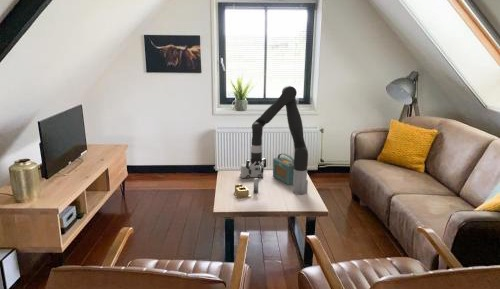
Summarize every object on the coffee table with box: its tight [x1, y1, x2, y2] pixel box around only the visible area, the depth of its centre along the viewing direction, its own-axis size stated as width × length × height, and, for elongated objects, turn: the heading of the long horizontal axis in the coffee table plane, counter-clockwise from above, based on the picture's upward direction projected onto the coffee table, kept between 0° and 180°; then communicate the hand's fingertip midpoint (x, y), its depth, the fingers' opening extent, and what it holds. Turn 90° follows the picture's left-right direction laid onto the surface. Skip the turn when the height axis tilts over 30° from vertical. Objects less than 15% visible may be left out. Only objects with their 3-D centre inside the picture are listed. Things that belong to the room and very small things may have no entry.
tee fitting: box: [233, 183, 252, 200], centre depth 254 cm, size 9×13×5 cm
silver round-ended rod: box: [253, 177, 260, 194], centre depth 258 cm, size 3×3×10 cm
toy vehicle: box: [239, 162, 264, 179], centre depth 292 cm, size 9×18×10 cm, turn 102°
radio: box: [272, 153, 294, 186], centre depth 284 cm, size 26×11×20 cm, turn 25°
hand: (255, 173), depth 256 cm, fingers open, 8 cm apart
